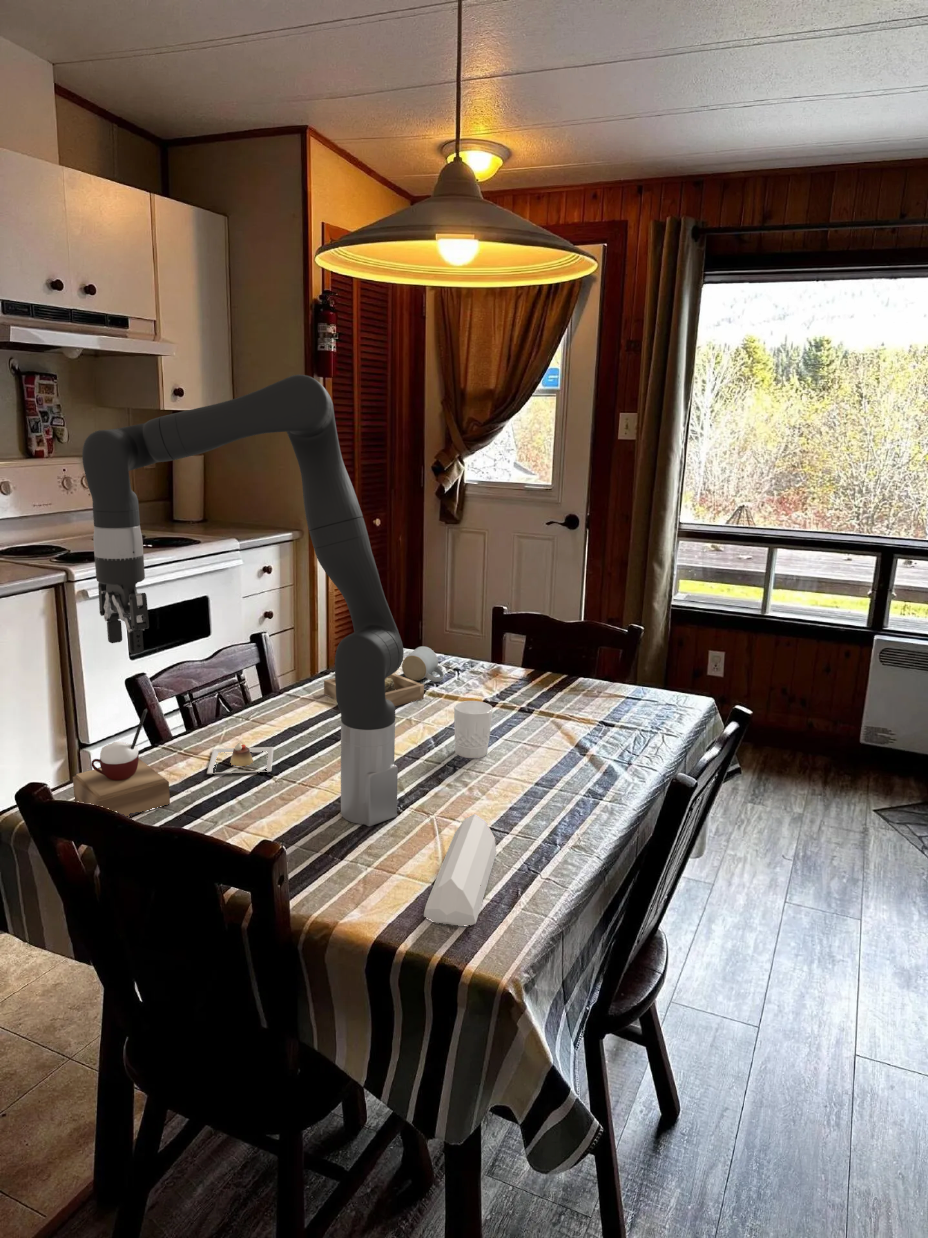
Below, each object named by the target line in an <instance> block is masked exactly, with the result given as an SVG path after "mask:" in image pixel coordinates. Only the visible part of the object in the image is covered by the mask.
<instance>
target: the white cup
mask: <svg viewBox="0 0 928 1238" xmlns="http://www.w3.org/2000/svg"><path fill="white" fill-rule="evenodd" d="M453 714H454V715H453V719H454V721H453V723H454V724H453V725H454V726H453V727H454V741H455V745H454V747H455V748H454V750H455V754H456V755H457V756H460V757H462V758H466V759H479V758H480V759H481V758H484V757H485V756H487V754H488V748H489V742H490V737H491V736H490V735H491V725H492V717H493V716H492V715H493V706H492V705H491V704H489V703H486V702H484V701H479V700H465V701H459V702H457V703H456V704H454V706H453Z"/></svg>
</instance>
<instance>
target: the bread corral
mask: <svg viewBox="0 0 928 1238" xmlns="http://www.w3.org/2000/svg"><path fill="white" fill-rule="evenodd" d="M387 678H389V679H390V678H391V679H392V680H393V682H394V687H395V690H394V691H390V692H386V693H385V697H386V699H387V700H390V701H391V702H392V703H393V704H394V706H395V707H398V706H400V705H405V704H408V703H412V702H415V701H420V700H424V698H425V697H424V695H425V685H424V684H422V683H420V682H417V681H414V680H410V679H409V678H407V677H406V676H402V675H400V674H397V673H396V672H395V673H393V674H392V675H390V676H388V677H387ZM385 679H386V678H385ZM323 695H326V696H327V697H329V698H331V699H334V700H336V685H335V677H333V678H329V679H328V678H327V679H325V680H323Z"/></svg>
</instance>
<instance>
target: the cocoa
mask: <svg viewBox="0 0 928 1238" xmlns="http://www.w3.org/2000/svg"><path fill="white" fill-rule="evenodd" d="M147 713H148V709H147V708H145V709H144V710H143V712H142V715H141V717H140V720H139V722H138V726H137V729H136V732H135V735H134V738H133V740H132V743H127V742H124V741H113V742H112V743H110V744H106V745H105V746H102V748H101V750H100V754H99V758H94V759H92V761H91V764H90V765H91V767H92V770H94V769H95V770H96V771H97V772H99V773H101V774H103V775H105V776H106V777H107V778H109V779H111V780H116V781H120V780H125V779H128V778H129V777H131V776H132V775H134V773H135V772H136V770H137V766H138V761H139V759H140V757H139V748H138V747H137V745H136V744H137V742H138V739H139V736H140V733H141V730H142V727H143V724H144V721H145V719H146V716H147ZM95 763H99V765H100V768H101V769H102V771H101V770H100V769H98V768H99V767H96V765H95Z"/></svg>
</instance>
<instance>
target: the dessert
mask: <svg viewBox="0 0 928 1238" xmlns="http://www.w3.org/2000/svg"><path fill="white" fill-rule="evenodd" d="M274 750H275V749H274V746H266V747H265V746H264V747H263V746H262V747H257V746H256V747H248V746H247V745H246V744H243V742H242V741H240V742H239V743H237V744H235V746H234V748H233V747H231V748H213V749H212V752H211V755H210V761H209V762H208V768H207V771H206V774H207V775H212V774H214V775H233V774H232V773H240V774H259V773H260V772H267V773H269V772H272V771H273V759H274ZM262 751H263V752H262ZM266 751H267V752H268V755H267V754H266V759H268V760H267V766H266V765H265V768H266V767H267V769H266V770H267V771H265V770H247V771H224V772H223V771H220V772H216V771H215V773H213V768H214V767H215V766H214V765H215V763H216V762H215V761H216V759H217V758H216V757H217V756H218V753H219V752H220V753H221V752H224V753H225V752H233V753H231V758H230V761H229V764H230V763H231V766H232V765H236V766H245V767H247V766H246V765H249V766H251V765H252V764H254V759H253V756H252V753H267V752H266ZM250 752H252V753H250ZM225 754H226V753H225ZM267 756H268V758H267ZM251 763H252V764H251ZM250 764H251V765H250ZM257 772H258V773H257ZM260 774H261V773H260Z"/></svg>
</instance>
